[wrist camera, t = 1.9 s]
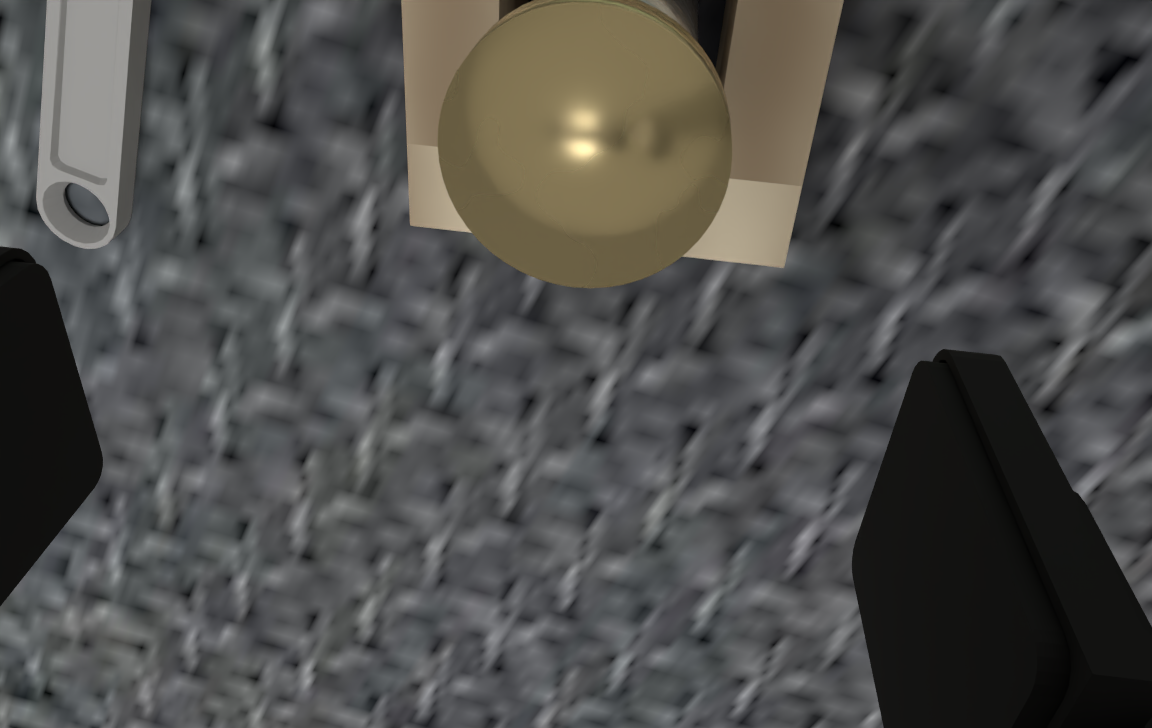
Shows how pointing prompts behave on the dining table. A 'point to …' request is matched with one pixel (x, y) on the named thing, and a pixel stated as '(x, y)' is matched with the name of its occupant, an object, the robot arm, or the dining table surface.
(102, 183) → the adjustable wrench
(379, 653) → the dining table surface
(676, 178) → the gold-capped cylinder
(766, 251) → the block
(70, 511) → the robot arm
